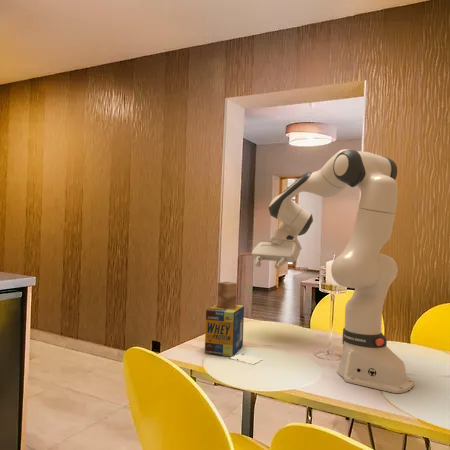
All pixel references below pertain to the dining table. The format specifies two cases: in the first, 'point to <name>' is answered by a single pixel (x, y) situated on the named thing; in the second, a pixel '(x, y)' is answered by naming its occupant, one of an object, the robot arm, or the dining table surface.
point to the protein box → (224, 330)
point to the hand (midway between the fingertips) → (266, 266)
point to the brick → (227, 295)
